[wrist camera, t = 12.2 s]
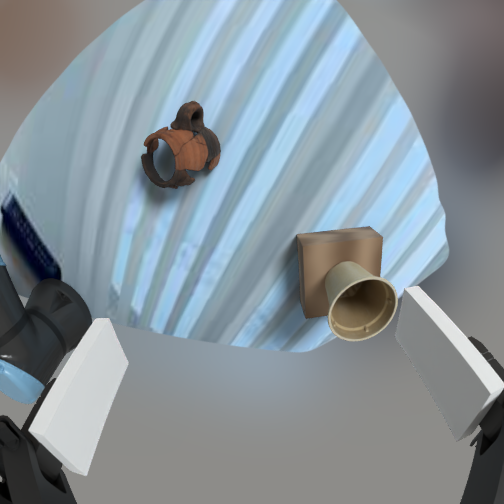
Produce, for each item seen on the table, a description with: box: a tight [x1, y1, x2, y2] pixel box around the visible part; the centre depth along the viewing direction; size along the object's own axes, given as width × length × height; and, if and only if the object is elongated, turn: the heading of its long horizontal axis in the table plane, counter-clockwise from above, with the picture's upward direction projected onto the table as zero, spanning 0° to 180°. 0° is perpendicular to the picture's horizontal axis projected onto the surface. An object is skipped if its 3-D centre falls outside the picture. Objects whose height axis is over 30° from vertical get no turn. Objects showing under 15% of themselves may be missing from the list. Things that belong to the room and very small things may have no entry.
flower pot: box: [325, 261, 398, 341], centre depth 36 cm, size 9×9×9 cm
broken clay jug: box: [141, 101, 221, 189], centre depth 35 cm, size 12×10×8 cm
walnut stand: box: [297, 226, 383, 319], centre depth 43 cm, size 12×12×5 cm
